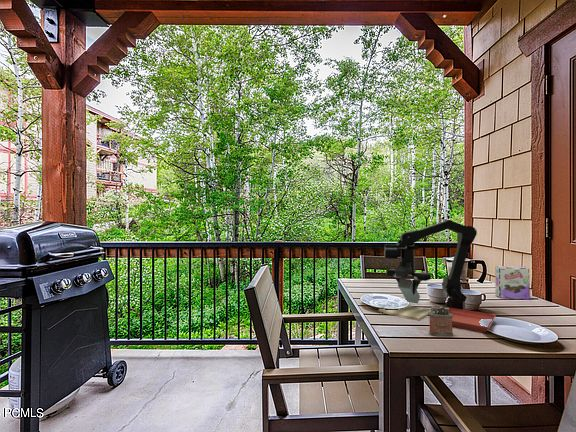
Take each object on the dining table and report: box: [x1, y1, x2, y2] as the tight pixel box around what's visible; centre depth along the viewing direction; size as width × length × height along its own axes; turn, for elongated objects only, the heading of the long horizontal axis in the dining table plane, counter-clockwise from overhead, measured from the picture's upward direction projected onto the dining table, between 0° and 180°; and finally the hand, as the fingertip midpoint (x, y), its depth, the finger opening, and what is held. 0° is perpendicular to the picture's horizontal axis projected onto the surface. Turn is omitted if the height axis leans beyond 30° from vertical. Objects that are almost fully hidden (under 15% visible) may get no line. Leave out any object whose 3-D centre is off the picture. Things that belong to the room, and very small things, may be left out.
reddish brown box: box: [428, 305, 454, 337], centre depth 111 cm, size 8×3×10 cm, turn 84°
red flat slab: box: [445, 306, 497, 333], centre depth 123 cm, size 18×18×3 cm
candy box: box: [494, 265, 531, 301], centre depth 162 cm, size 14×6×16 cm, turn 73°
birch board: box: [378, 304, 434, 321], centre depth 138 cm, size 18×16×1 cm
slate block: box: [397, 278, 421, 304], centre depth 141 cm, size 5×4×13 cm
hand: (408, 293), depth 140 cm, fingers closed on slate block, 5 cm apart
